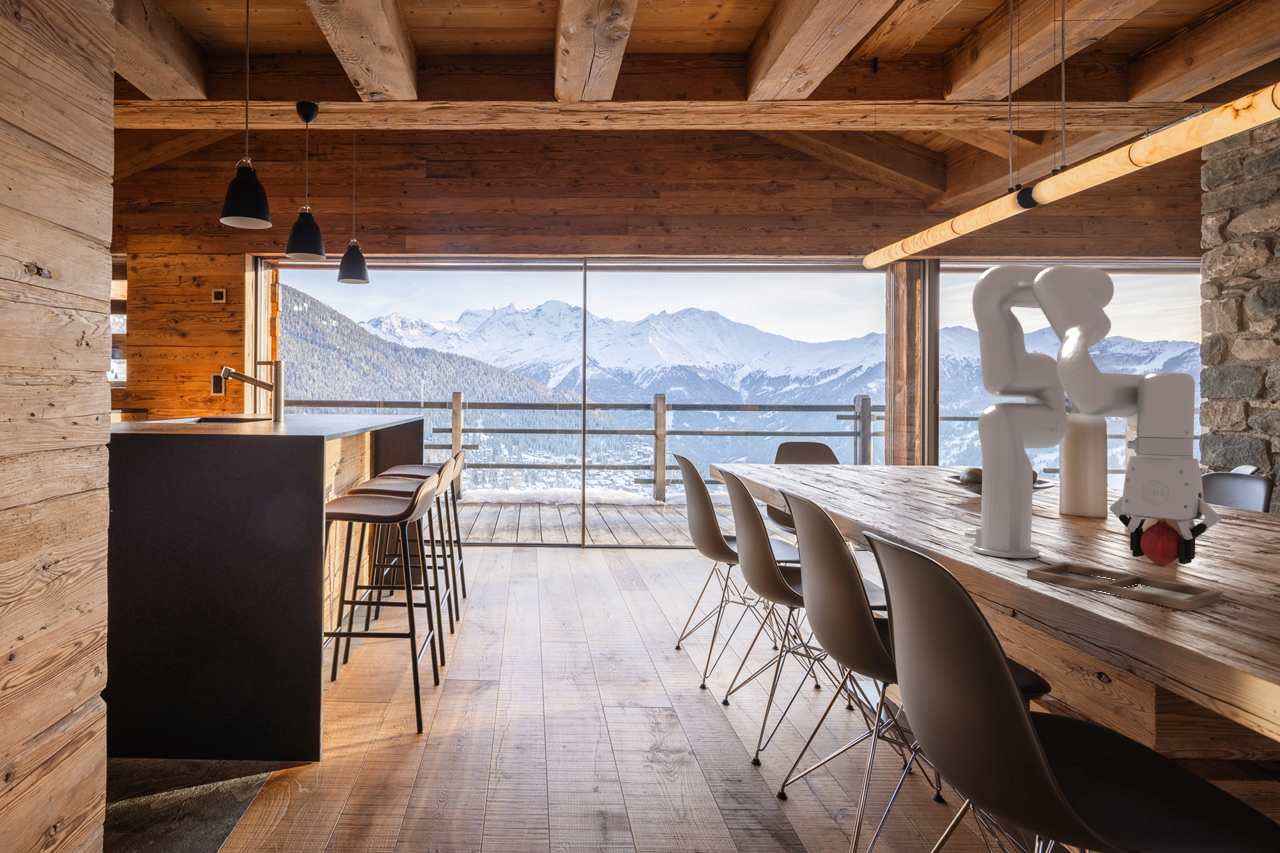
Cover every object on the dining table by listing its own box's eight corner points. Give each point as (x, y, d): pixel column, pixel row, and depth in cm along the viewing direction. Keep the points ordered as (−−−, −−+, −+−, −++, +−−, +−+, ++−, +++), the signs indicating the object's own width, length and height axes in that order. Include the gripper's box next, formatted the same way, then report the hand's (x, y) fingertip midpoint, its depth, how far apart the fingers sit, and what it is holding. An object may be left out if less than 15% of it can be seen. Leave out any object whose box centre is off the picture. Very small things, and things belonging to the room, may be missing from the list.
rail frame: (1026, 577, 130) (1027, 569, 130) (1063, 569, 137) (1064, 562, 137) (1188, 611, 109) (1189, 601, 109) (1222, 599, 116) (1222, 591, 116)
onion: (1190, 571, 114) (1192, 521, 114) (1150, 569, 116) (1151, 519, 115) (1171, 564, 120) (1173, 516, 120) (1133, 562, 121) (1134, 514, 121)
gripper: (1095, 446, 123) (1093, 552, 123) (1219, 452, 108) (1216, 572, 109) (1116, 446, 127) (1114, 548, 127) (1238, 451, 112) (1235, 566, 113)
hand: (1161, 558), depth 118 cm, fingers closed on onion, 5 cm apart
